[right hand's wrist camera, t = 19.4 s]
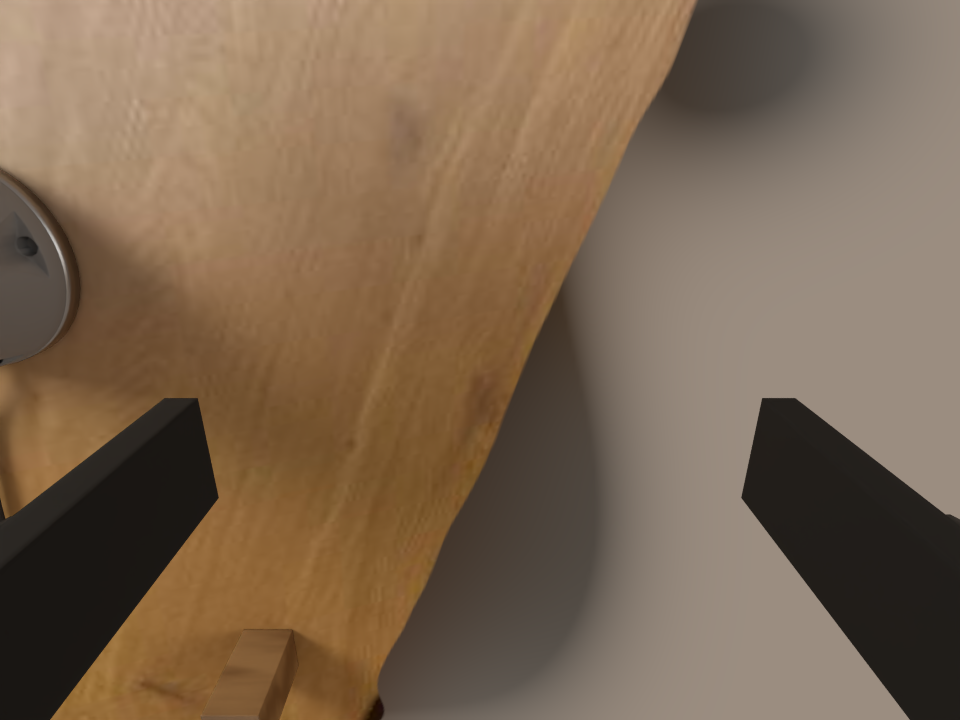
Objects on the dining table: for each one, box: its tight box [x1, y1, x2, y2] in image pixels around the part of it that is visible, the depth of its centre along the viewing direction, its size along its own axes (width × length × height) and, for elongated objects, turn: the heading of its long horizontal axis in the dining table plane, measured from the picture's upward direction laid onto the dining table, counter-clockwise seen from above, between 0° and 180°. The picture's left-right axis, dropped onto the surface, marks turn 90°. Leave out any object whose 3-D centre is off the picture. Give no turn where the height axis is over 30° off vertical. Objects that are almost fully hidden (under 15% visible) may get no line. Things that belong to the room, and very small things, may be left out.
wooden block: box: [201, 630, 298, 720], centre depth 49 cm, size 5×5×9 cm
